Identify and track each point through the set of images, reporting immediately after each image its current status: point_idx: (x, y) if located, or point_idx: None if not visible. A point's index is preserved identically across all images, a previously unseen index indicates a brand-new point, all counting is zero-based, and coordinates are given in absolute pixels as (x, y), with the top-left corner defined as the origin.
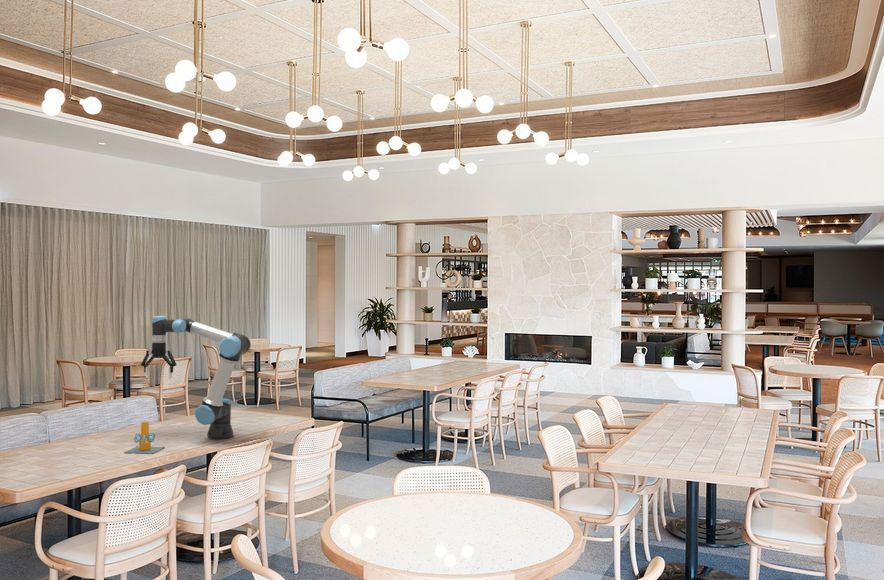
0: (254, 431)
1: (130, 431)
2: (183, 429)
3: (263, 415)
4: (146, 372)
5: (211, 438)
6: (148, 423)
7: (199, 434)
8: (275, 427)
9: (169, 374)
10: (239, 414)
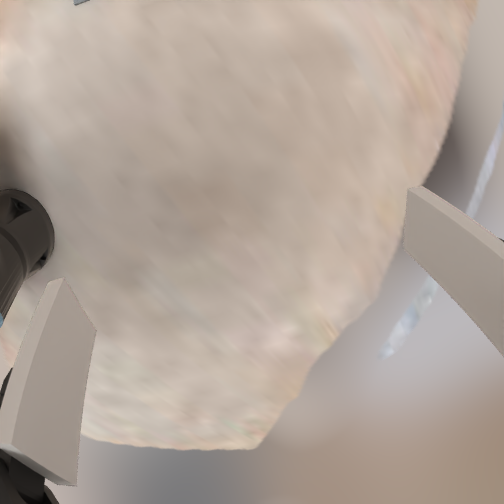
0: (6, 321)
1: (367, 207)
2: (212, 286)
3: (140, 438)
4: (473, 229)
5: (12, 190)
6: None
7: (102, 240)
8: (11, 365)
9: (35, 324)
10: (196, 433)
